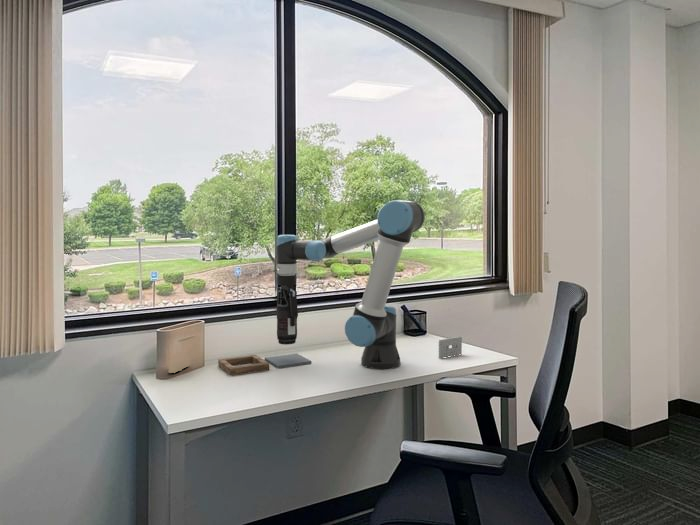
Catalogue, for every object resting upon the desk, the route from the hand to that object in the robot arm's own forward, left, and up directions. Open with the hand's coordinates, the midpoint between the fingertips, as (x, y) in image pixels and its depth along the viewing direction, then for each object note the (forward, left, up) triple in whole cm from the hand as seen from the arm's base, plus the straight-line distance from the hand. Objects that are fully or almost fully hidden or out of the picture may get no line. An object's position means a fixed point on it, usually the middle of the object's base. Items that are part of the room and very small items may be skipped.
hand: (287, 332), depth 219 cm
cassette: (-25, -61, -12) cm, 67 cm away
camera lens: (0, 0, -4) cm, 4 cm away
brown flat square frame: (0, +18, -12) cm, 22 cm away
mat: (0, 0, -12) cm, 12 cm away
